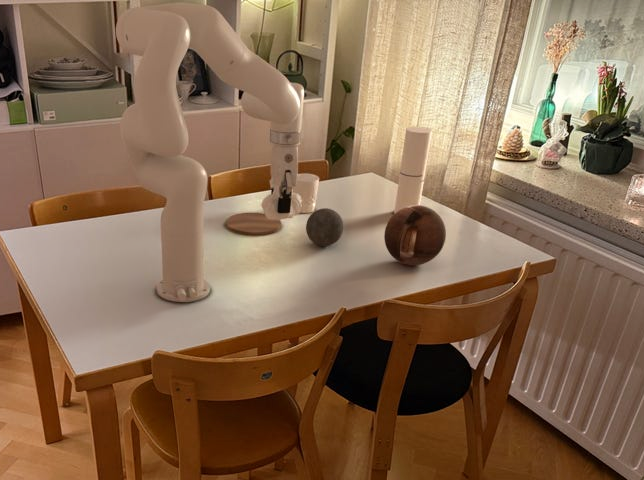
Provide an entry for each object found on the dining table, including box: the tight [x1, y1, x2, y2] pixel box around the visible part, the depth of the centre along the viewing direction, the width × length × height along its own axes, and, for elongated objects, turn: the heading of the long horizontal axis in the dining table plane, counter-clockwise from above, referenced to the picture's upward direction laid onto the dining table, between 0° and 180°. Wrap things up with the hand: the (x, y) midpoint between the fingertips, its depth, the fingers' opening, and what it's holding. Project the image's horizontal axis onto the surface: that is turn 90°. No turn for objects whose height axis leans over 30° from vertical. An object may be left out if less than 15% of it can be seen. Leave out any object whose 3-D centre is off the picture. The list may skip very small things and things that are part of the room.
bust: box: [260, 177, 302, 221], centre depth 178 cm, size 12×8×11 cm
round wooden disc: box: [225, 212, 282, 237], centre depth 202 cm, size 16×16×1 cm
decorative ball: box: [305, 207, 344, 247], centre depth 188 cm, size 10×10×10 cm
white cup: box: [292, 173, 320, 214], centre depth 211 cm, size 8×8×10 cm
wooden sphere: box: [383, 204, 447, 266], centre depth 176 cm, size 15×15×15 cm
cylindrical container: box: [393, 126, 433, 215], centre depth 205 cm, size 7×7×25 cm
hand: (280, 207), depth 179 cm, fingers closed on bust, 7 cm apart
